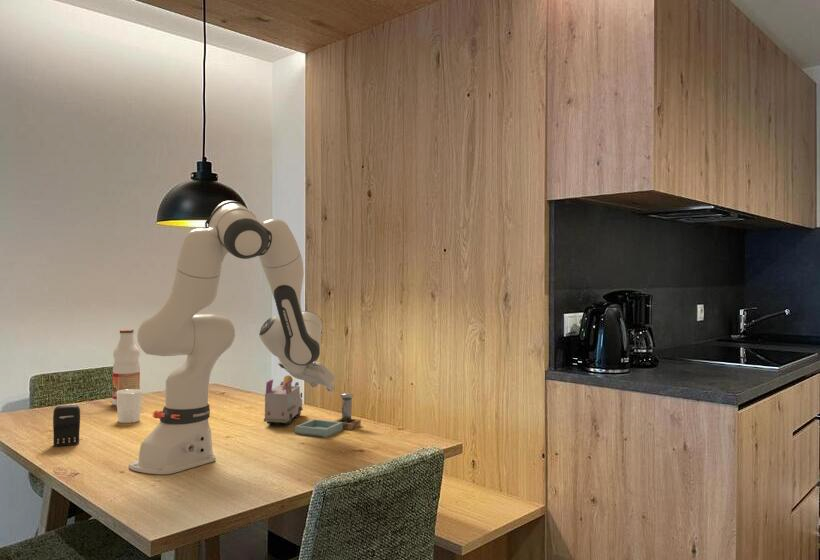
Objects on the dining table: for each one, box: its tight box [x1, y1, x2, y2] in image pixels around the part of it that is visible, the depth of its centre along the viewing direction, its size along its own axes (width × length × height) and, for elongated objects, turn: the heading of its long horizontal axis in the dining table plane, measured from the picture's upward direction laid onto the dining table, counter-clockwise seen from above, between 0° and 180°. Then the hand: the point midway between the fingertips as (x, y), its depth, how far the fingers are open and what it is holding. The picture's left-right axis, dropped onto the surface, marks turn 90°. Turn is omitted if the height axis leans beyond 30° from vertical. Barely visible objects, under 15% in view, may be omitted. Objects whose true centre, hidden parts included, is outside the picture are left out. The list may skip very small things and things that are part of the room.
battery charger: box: [52, 403, 81, 447], centre depth 185 cm, size 7×4×11 cm, turn 118°
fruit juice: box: [111, 328, 141, 407], centre depth 242 cm, size 9×9×28 cm
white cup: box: [116, 389, 143, 424], centre depth 216 cm, size 8×8×10 cm
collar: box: [334, 417, 362, 431], centre depth 213 cm, size 7×7×2 cm
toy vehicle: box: [263, 374, 303, 426], centre depth 220 cm, size 9×20×15 cm, turn 174°
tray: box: [294, 418, 344, 439], centre depth 206 cm, size 11×11×2 cm
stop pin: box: [340, 392, 354, 423], centre depth 213 cm, size 4×4×11 cm
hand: (323, 387), depth 205 cm, fingers open, 8 cm apart
